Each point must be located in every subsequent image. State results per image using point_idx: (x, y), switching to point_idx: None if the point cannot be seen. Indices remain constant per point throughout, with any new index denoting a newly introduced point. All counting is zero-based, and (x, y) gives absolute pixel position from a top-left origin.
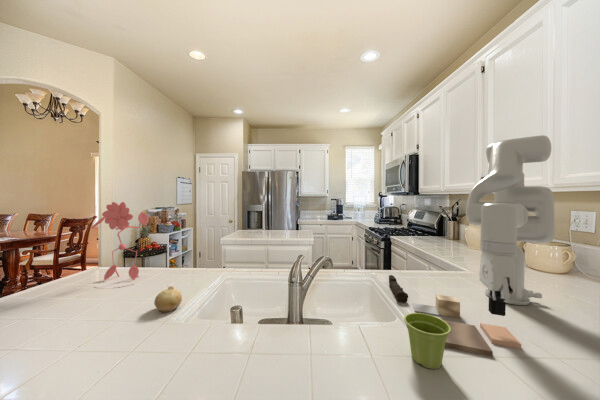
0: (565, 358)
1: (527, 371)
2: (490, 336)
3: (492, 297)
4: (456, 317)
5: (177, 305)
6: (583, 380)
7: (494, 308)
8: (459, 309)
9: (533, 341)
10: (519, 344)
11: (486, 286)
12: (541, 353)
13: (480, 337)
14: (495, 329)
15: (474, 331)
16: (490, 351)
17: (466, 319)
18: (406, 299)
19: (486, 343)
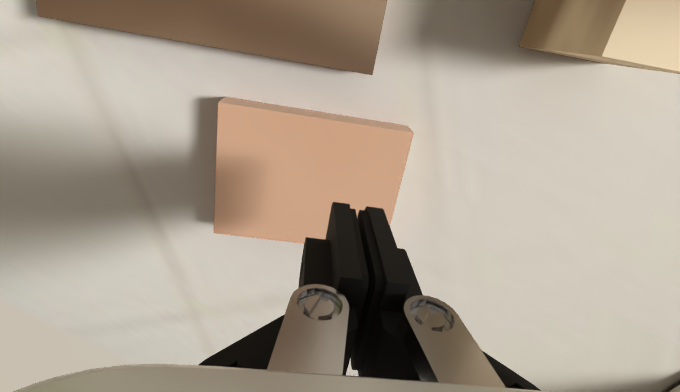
0: (204, 338)
1: (2, 134)
2: (243, 107)
3: (339, 307)
4: (528, 22)
5: None
6: (60, 308)
7: (329, 247)
8: (559, 46)
9: None
10: (215, 224)
11: (345, 382)
12: (209, 280)
13: (205, 27)
14: (347, 186)
15: (281, 27)
16: (36, 1)
17: (502, 87)
18: None
19: (133, 28)
